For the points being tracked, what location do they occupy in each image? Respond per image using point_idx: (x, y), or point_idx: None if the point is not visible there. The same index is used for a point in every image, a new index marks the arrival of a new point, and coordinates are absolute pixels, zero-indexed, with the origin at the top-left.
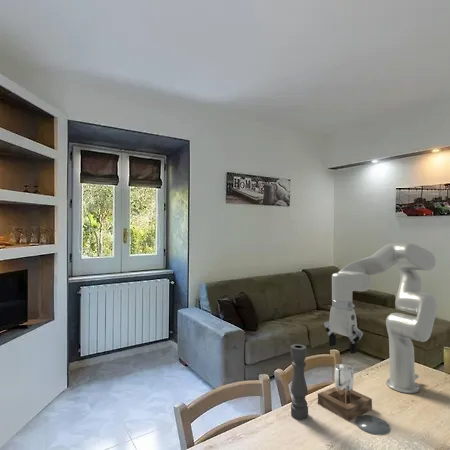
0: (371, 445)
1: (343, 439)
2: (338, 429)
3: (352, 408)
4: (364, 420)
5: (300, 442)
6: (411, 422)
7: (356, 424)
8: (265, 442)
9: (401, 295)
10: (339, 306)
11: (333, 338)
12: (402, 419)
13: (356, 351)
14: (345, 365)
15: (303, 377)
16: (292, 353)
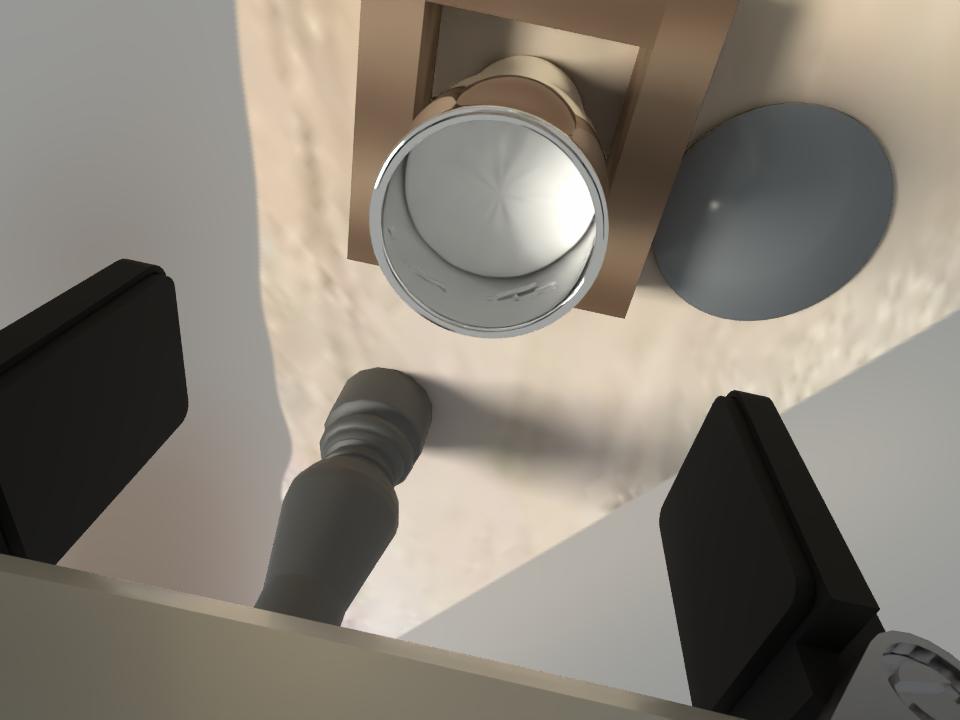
0: (795, 404)
1: (658, 441)
2: (605, 389)
3: (639, 271)
4: (710, 220)
5: (519, 548)
6: None
7: (675, 290)
8: (426, 604)
9: None
10: None
11: (66, 449)
12: None
13: (766, 415)
14: (456, 117)
15: (348, 599)
16: None
